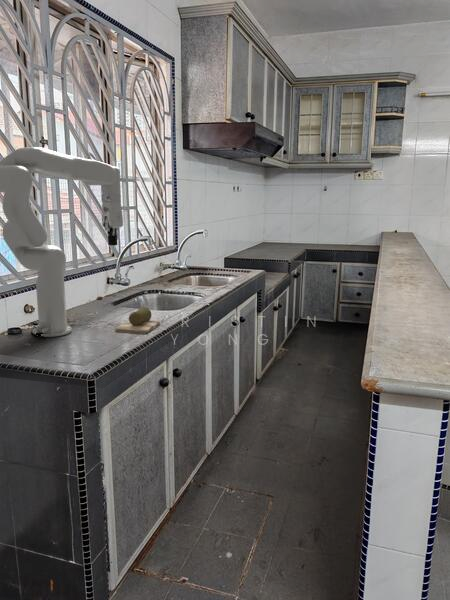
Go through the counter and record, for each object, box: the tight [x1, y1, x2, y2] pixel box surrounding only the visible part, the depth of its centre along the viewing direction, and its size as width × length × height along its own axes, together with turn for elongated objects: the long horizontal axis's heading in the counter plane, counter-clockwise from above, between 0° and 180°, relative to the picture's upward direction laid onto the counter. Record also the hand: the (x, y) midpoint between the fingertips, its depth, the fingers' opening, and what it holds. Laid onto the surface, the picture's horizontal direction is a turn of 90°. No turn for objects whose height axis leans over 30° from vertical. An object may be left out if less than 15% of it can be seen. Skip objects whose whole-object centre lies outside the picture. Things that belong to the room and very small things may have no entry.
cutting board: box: [115, 320, 161, 335], centre depth 184 cm, size 14×12×1 cm
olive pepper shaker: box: [128, 306, 152, 326], centre depth 187 cm, size 6×6×11 cm
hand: (112, 245), depth 197 cm, fingers closed
